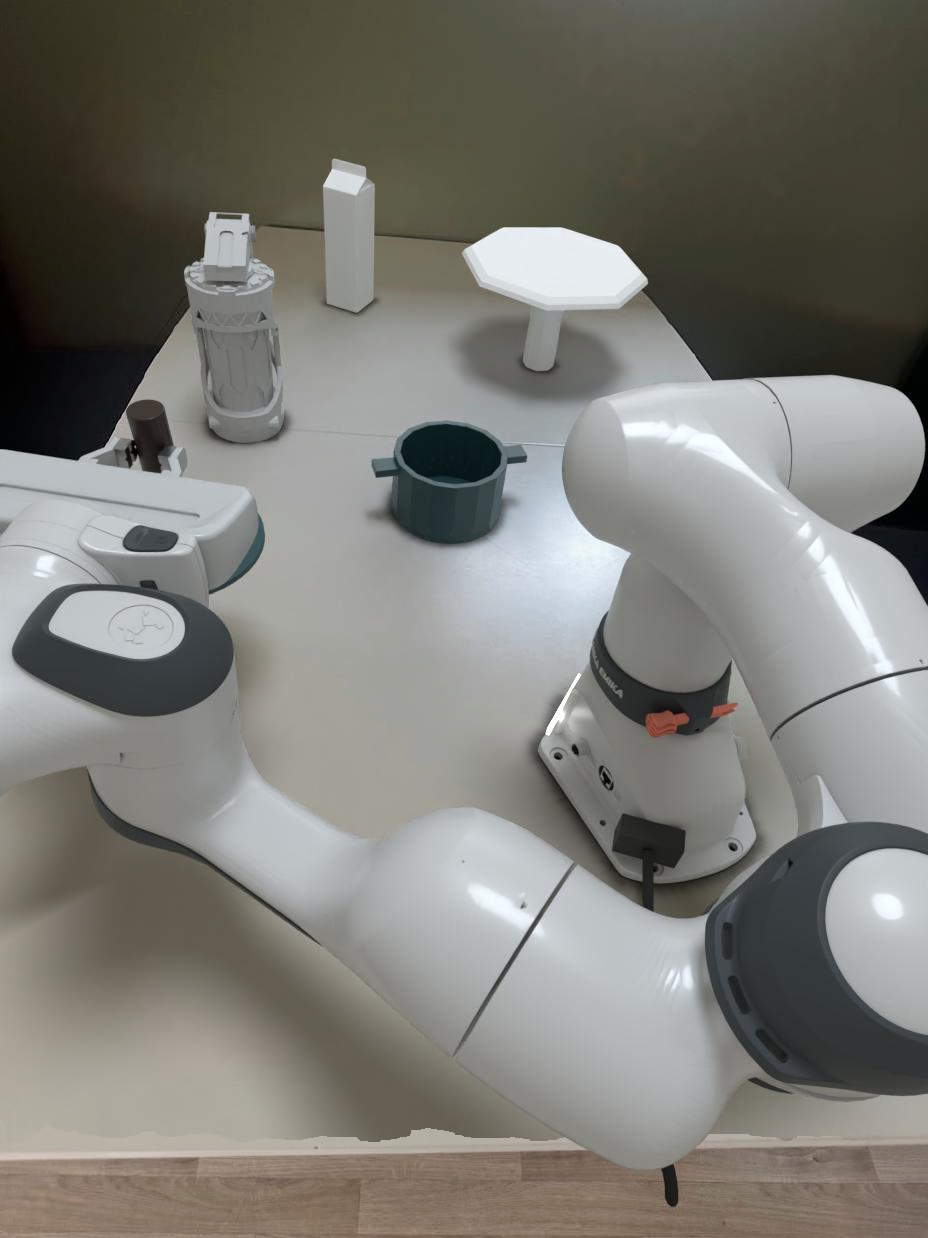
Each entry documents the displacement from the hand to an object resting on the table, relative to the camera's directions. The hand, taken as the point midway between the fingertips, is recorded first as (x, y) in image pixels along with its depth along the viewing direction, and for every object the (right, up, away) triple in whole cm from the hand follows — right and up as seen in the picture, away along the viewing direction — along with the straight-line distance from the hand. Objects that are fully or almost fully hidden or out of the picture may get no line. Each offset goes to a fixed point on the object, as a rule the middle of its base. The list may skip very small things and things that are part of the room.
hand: (152, 449), depth 63 cm
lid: (-1, -7, +8) cm, 10 cm away
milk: (+5, +41, +76) cm, 86 cm away
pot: (+22, +1, +39) cm, 45 cm away
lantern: (-6, +15, +49) cm, 52 cm away
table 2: (+36, +28, +67) cm, 81 cm away
